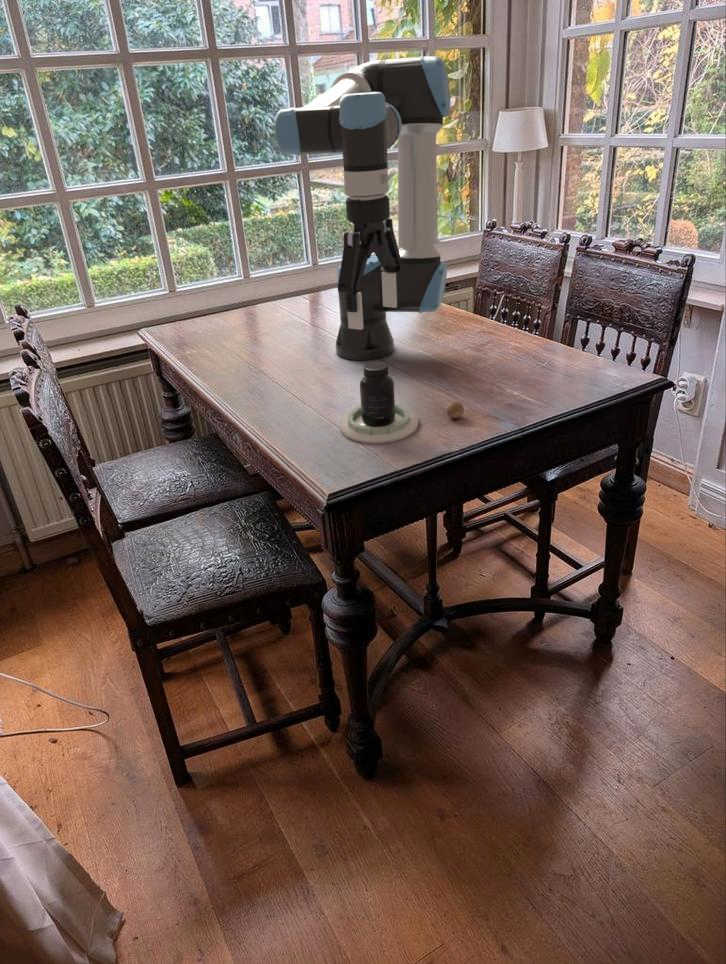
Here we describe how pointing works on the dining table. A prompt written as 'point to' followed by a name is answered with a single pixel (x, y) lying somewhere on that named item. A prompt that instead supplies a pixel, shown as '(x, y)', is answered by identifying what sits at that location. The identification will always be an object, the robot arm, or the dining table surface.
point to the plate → (396, 431)
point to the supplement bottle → (377, 395)
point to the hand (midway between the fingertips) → (373, 317)
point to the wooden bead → (455, 410)
